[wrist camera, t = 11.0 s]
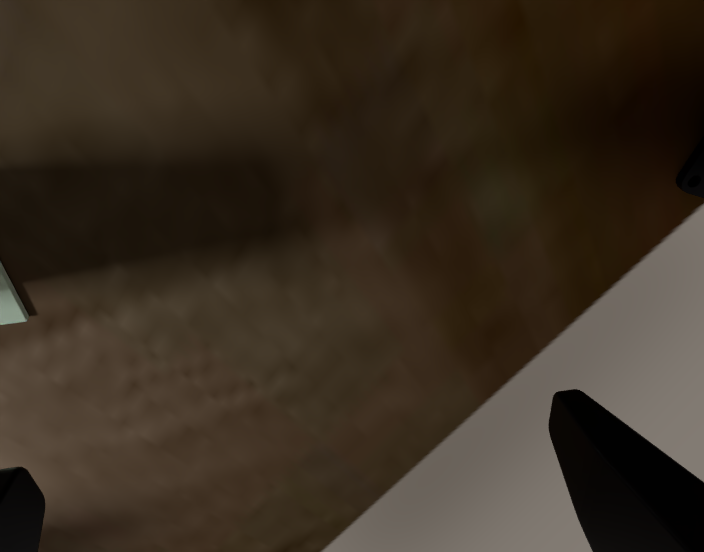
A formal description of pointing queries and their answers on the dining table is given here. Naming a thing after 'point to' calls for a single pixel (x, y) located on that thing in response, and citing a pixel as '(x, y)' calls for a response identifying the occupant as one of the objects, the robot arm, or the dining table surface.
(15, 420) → the dining table surface
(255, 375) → the dining table surface
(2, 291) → the pad
